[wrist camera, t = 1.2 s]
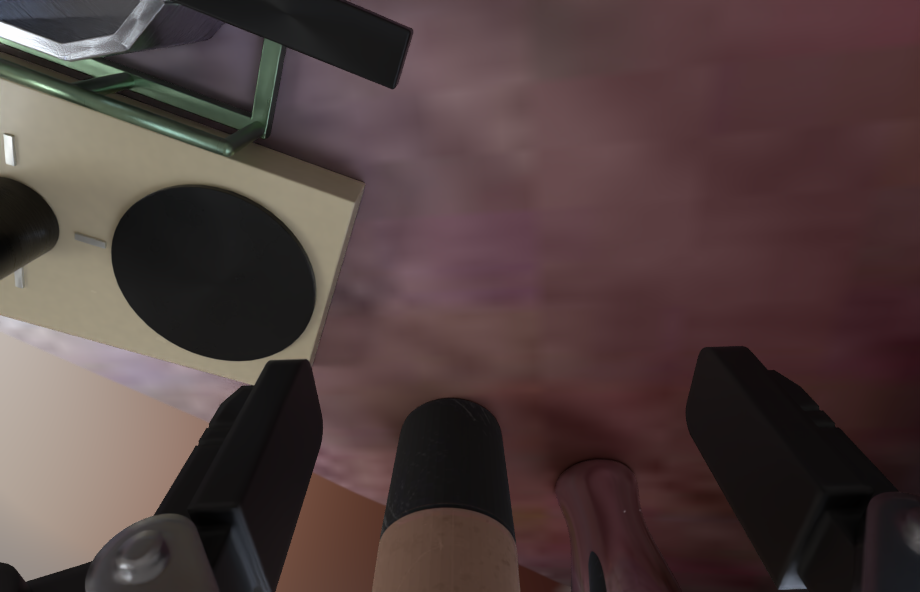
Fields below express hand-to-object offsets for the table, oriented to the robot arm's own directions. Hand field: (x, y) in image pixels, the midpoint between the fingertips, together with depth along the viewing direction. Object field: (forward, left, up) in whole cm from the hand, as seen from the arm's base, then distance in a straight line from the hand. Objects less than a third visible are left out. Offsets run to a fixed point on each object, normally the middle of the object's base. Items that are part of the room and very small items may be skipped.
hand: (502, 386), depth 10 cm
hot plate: (+10, -14, -17) cm, 24 cm away
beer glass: (+20, +17, -18) cm, 32 cm away
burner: (+10, -11, -14) cm, 20 cm away
